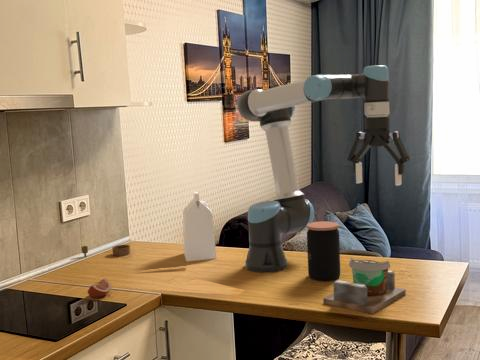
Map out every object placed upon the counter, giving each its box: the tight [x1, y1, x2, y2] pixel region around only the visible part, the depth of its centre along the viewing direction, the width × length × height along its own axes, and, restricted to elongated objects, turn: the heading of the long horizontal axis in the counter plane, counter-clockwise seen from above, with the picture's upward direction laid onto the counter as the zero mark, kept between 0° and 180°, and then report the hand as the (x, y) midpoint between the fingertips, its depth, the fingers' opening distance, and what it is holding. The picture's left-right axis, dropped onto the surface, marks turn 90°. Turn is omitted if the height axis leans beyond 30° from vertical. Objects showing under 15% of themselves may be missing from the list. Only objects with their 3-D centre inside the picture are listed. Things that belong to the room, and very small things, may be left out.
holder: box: [322, 269, 407, 315], centre depth 172 cm, size 16×20×7 cm
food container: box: [348, 256, 391, 296], centre depth 172 cm, size 12×6×10 cm, turn 58°
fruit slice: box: [87, 278, 112, 298], centre depth 187 cm, size 8×7×5 cm
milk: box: [182, 191, 217, 262], centre depth 228 cm, size 12×12×26 cm
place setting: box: [81, 244, 131, 259], centre depth 239 cm, size 18×20×6 cm
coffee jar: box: [306, 220, 341, 282], centre depth 195 cm, size 11×11×18 cm
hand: (378, 184), depth 184 cm, fingers open, 13 cm apart
